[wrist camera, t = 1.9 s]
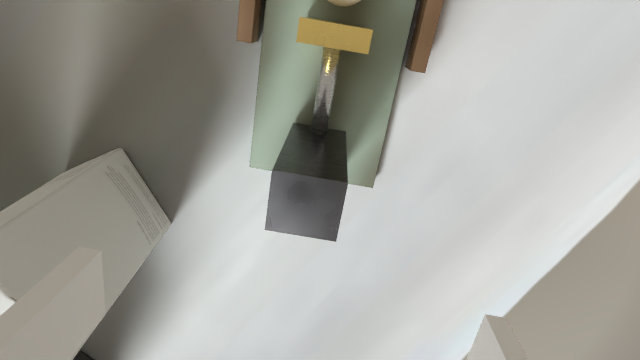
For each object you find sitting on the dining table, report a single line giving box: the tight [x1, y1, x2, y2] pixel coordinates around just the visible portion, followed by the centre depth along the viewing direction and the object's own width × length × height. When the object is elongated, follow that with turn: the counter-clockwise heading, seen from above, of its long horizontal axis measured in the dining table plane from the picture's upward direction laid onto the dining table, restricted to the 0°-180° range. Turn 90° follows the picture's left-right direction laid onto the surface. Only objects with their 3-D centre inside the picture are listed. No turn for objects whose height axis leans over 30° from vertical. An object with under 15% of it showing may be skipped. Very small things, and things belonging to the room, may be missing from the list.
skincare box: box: [0, 148, 171, 360], centre depth 28 cm, size 8×7×16 cm
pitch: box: [237, 0, 444, 188], centre depth 28 cm, size 13×21×3 cm, turn 171°
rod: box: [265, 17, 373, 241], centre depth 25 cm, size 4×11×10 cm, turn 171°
